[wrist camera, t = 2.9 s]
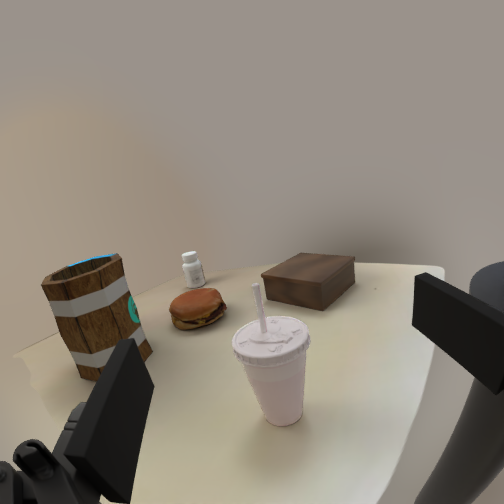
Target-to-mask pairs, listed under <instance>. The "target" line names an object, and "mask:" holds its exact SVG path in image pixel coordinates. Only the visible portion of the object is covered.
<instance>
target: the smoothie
mask: <svg viewBox="0 0 504 504" xmlns="http://www.w3.org/2000/svg"><path fill="white" fill-rule="evenodd" d="M252 288H253V293H254V299H255V304H256V309H257V314H258V320H255V321H252V322H250V323H248V324H246V325H244V326H243V327H241V328H240V329H239V330H238V331H237V332H236V333H235V334H234V336H233V338H232V346H233V352H234V356H235V357H236V358H237V359H238V361H240V362H241V363H242V365H243V368H244V370H245V372H246V375H247V377H248V379H249V381H250V384H251V386H252V388H253V391H254V393H255V395H256V397H257V400H258V402H259V404H260V406H261V409H262V411H263V413H264V415H265V417H266V419H267V421H268V422H269V423H271V424H273V425H276V426H287V425H291V424H293V423H295V422H296V421H298V420H299V419H300V417H301V415H302V410H303V397H304V382H305V365H306V350H307V349H308V348H309V345H310V335H309V330H308V327H307V325H306V324H305V323H304V322H302V321H300V320H298V319H296V318H293V317H287V316H272V317H265V313H264V308H263V302H262V297H261V292H260V286H259V283H254V284H252Z"/></svg>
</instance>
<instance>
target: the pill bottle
mask: <svg viewBox="0 0 504 504" xmlns="http://www.w3.org/2000/svg"><path fill="white" fill-rule="evenodd" d="M182 259H183V261H184V264H183V266H182V267H183V271H184V275H185V279H186V283H187V286H188V287H189V288H198V287H201V286H203V285H204V284H205V278H204V273H203V269H202V265H201V262H200V261H199V260H197V253H196V251H192V252H187V253H184V254H182Z"/></svg>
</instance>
